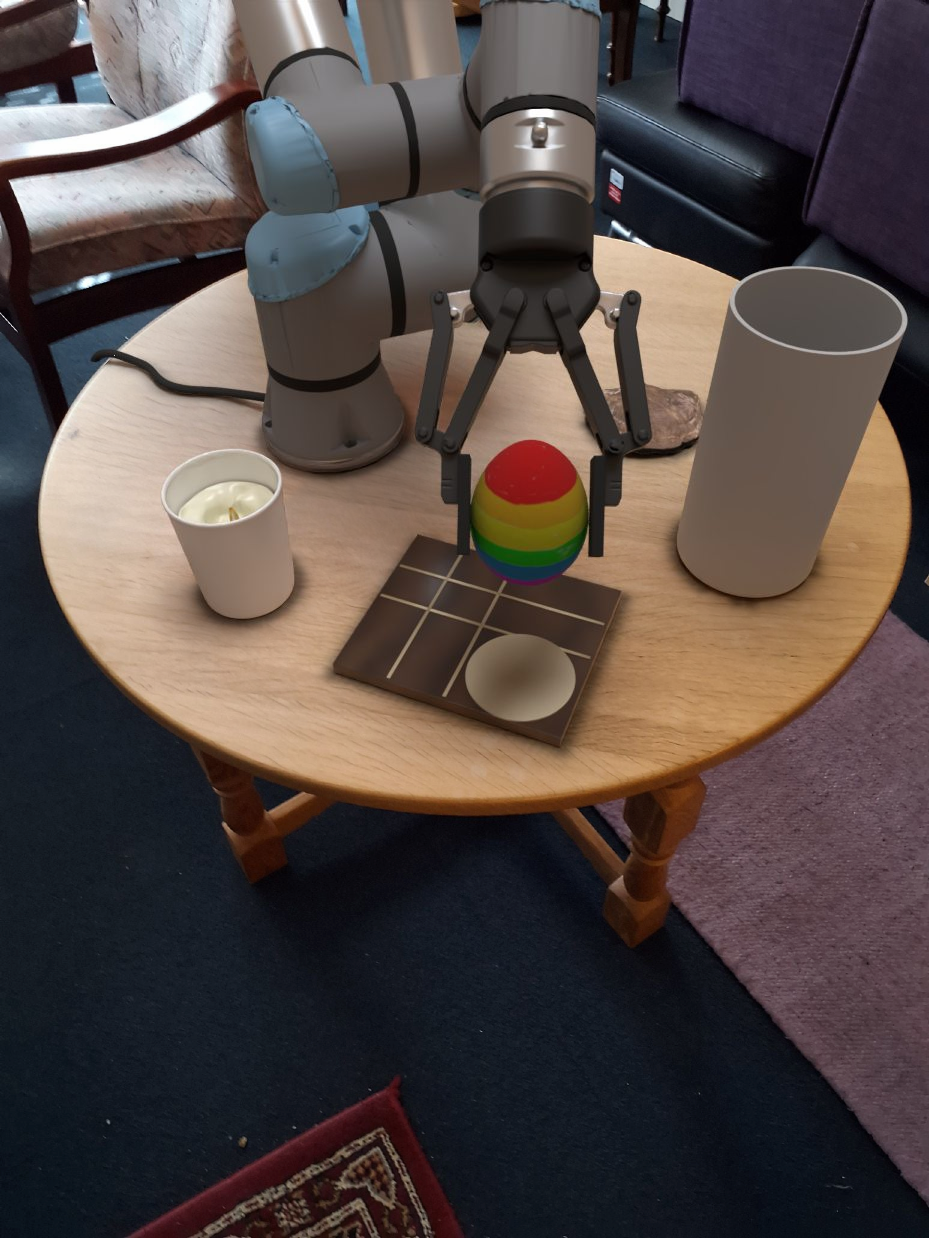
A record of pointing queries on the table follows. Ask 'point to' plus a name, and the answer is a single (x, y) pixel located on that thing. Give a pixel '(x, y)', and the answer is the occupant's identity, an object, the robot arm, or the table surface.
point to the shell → (663, 417)
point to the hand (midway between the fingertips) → (529, 555)
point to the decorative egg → (529, 513)
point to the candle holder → (233, 530)
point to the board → (481, 640)
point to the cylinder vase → (784, 424)
